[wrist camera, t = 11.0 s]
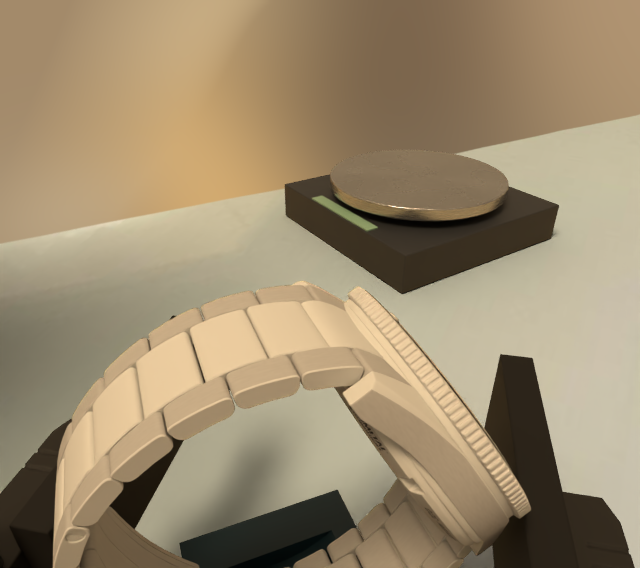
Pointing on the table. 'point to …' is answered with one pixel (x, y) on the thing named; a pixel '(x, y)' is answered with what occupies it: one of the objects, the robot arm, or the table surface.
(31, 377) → the table surface
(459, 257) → the scale
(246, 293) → the watch
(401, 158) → the scale pan
